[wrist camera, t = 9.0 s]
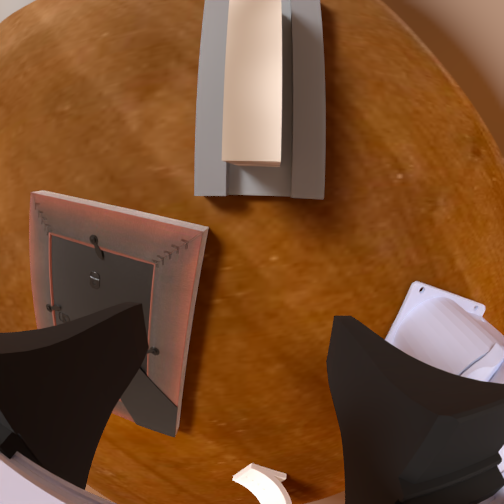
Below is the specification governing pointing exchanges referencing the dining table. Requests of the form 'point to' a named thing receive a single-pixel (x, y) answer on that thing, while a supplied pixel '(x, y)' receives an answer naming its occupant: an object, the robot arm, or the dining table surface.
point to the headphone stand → (264, 484)
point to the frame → (253, 84)
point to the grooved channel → (293, 109)
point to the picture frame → (121, 287)
